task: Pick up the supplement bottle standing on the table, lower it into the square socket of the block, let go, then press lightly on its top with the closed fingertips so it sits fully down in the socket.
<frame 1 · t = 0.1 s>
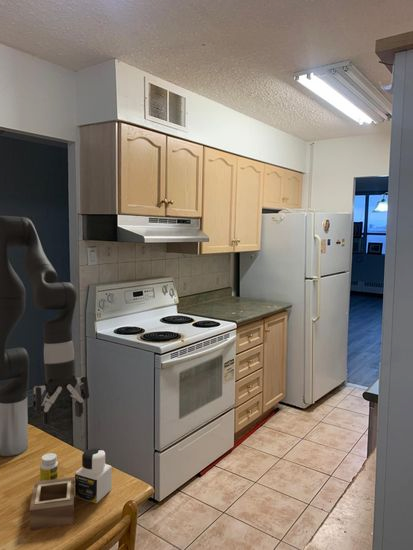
hand: (63, 420, 111), 22 cm above the table, tool pointing down, fingers open, 8 cm apart
supplement bottle: (49, 485, 120), on the table
medicine bottle: (93, 494, 117), on the table
socket block: (53, 510, 109), on the table
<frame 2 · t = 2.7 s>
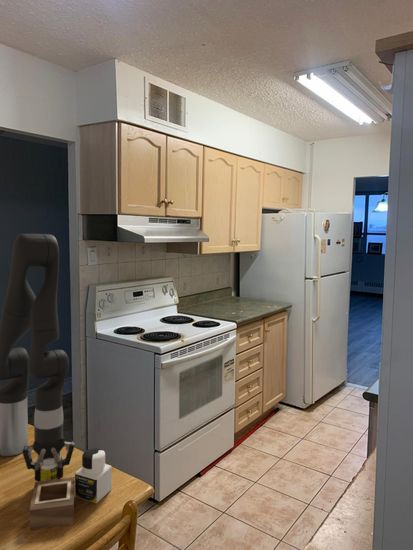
hand: (49, 479, 120), 2 cm above the table, tool pointing down, fingers closed on supplement bottle, 4 cm apart
supplement bottle: (49, 485, 120), on the table, touching gripper
everything else where it was.
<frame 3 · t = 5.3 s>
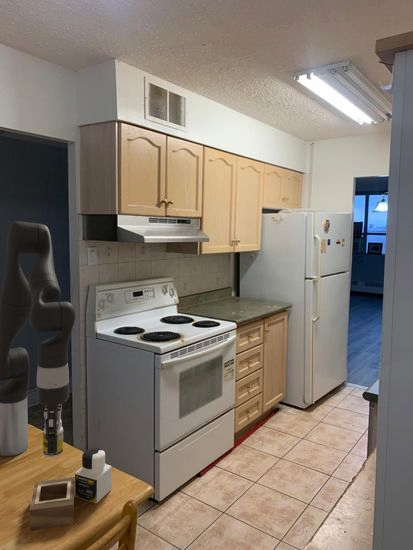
hand: (53, 446, 108), 17 cm above the table, tool pointing down, fingers closed on supplement bottle, 4 cm apart
supplement bottle: (53, 453, 108), point 15 cm above the table, touching gripper
everything else where it was.
when the fingers open (5 cm above the table, at t = 7.8 s): supplement bottle drops 4 cm, resting in socket block.
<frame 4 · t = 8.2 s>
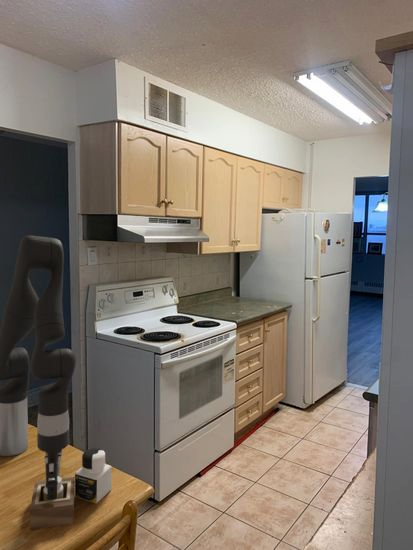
hand: (53, 488, 109), 6 cm above the table, tool pointing down, fingers open, 8 cm apart
supplement bottle: (53, 511, 109), resting in socket block
everything else where it was.
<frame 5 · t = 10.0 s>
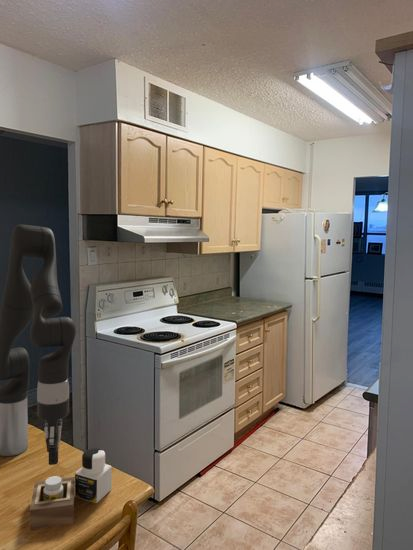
hand: (53, 462, 108), 13 cm above the table, tool pointing down, fingers closed
nothing on the table moved.
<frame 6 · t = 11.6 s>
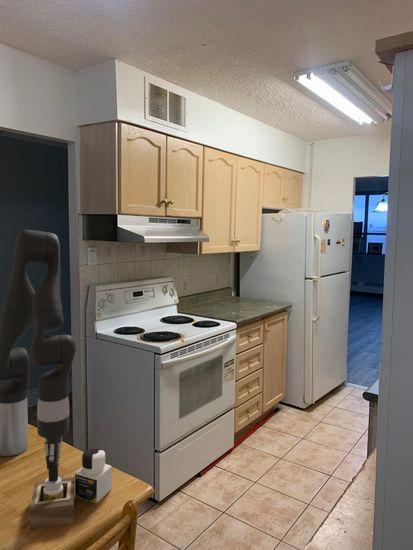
hand: (53, 479, 109), 9 cm above the table, tool pointing down, fingers closed
nothing on the table moved.
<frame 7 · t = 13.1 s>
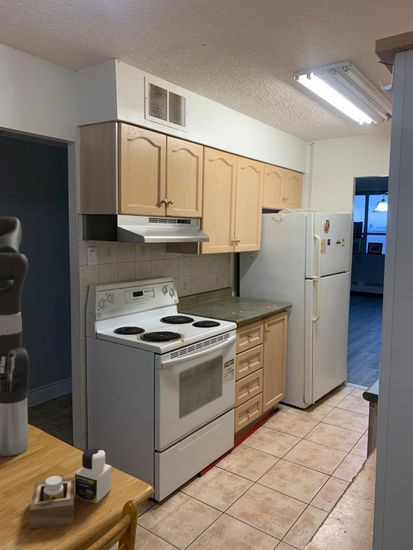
hand: (6, 393, 112), 28 cm above the table, tool pointing down, fingers closed
nothing on the table moved.
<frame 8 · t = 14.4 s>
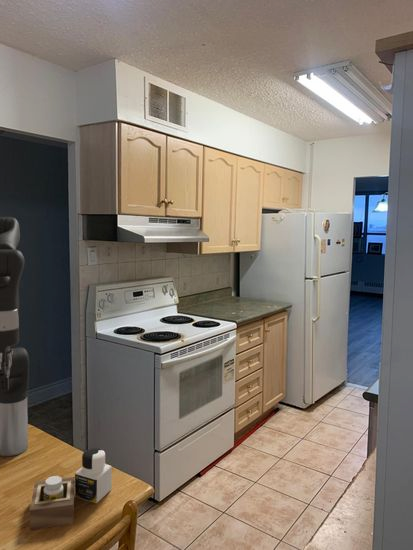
hand: (3, 390, 113), 29 cm above the table, tool pointing down, fingers closed
nothing on the table moved.
at the end: supplement bottle 0.0 cm off-centre on the socket block, point 0.0 cm above the socket block's base; supplement bottle tilted 0°; the gripper is holding nothing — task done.
